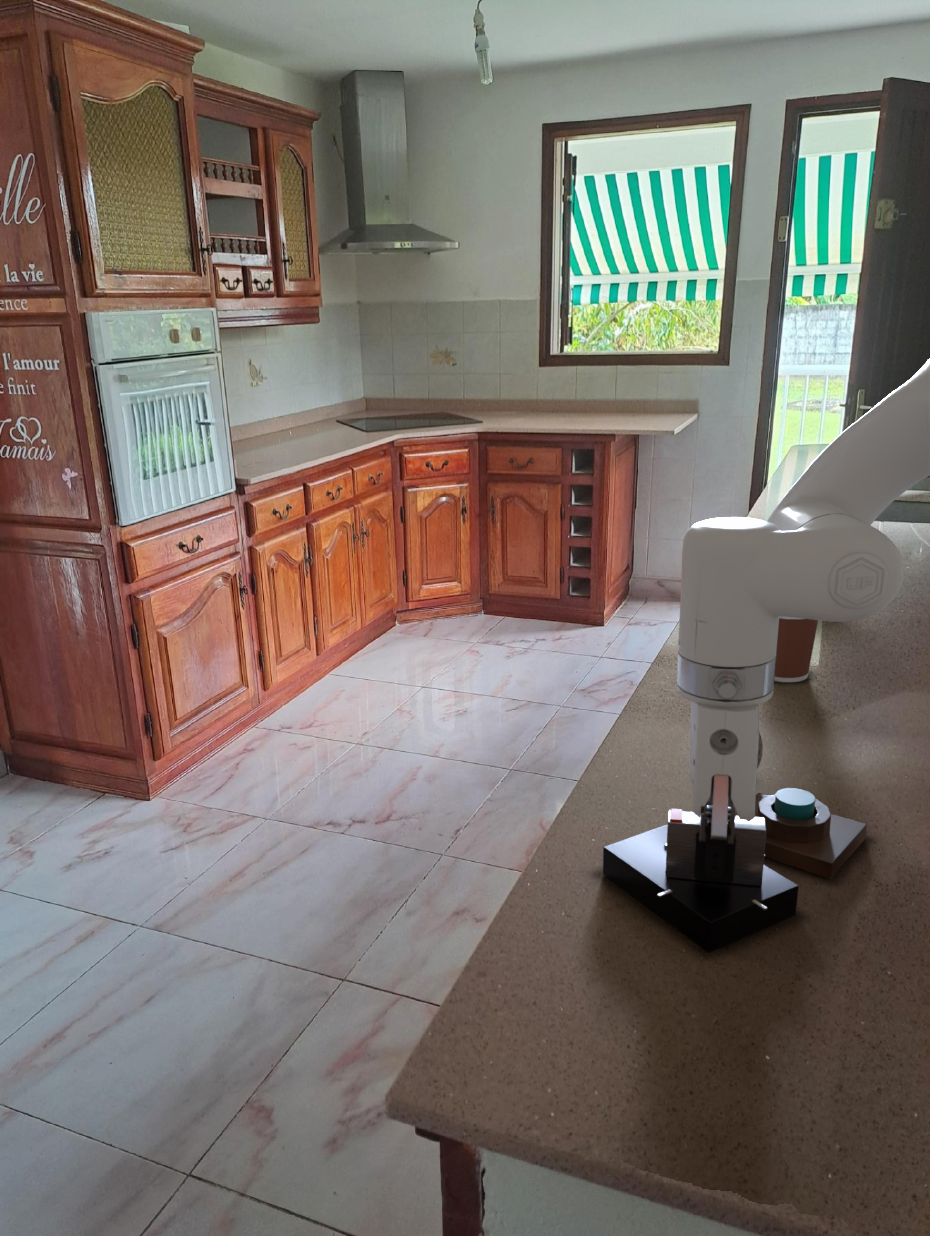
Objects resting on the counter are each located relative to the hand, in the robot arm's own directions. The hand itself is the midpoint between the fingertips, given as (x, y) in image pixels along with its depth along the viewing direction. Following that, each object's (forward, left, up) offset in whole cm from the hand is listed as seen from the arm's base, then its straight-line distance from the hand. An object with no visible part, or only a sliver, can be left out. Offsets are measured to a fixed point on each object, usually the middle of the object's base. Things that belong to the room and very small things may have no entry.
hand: (713, 868), depth 84 cm
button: (-1, -15, -1) cm, 15 cm away
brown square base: (-1, -15, -4) cm, 15 cm away
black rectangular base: (+2, -1, -4) cm, 4 cm away
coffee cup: (+18, -58, -4) cm, 60 cm away
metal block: (0, 0, -1) cm, 1 cm away
